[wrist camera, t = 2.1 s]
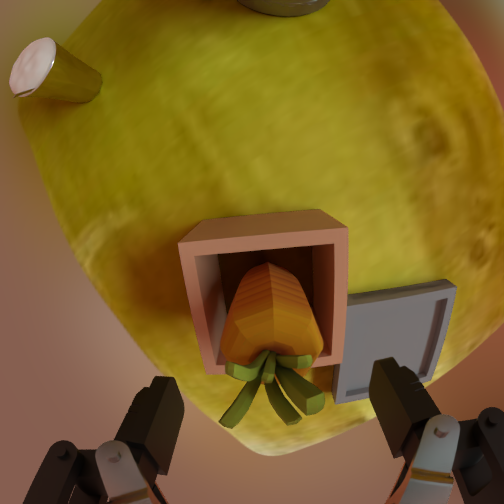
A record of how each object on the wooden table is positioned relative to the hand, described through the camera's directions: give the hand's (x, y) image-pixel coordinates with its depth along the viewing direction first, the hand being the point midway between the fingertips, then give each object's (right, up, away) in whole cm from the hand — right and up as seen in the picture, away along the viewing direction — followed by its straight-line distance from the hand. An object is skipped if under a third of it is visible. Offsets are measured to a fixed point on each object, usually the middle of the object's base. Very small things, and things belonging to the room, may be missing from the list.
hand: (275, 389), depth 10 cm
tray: (+13, -4, +14) cm, 20 cm away
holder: (0, +4, +12) cm, 13 cm away
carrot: (0, +4, +13) cm, 13 cm away
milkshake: (-15, +20, +8) cm, 26 cm away
